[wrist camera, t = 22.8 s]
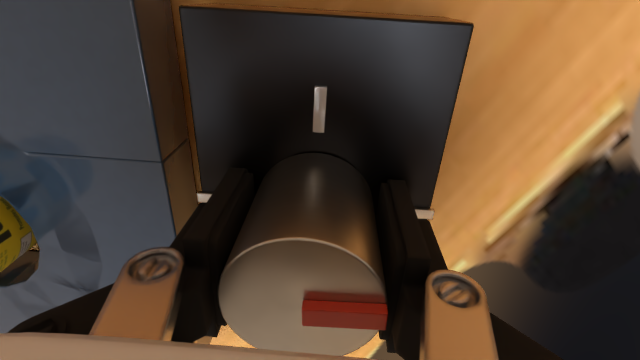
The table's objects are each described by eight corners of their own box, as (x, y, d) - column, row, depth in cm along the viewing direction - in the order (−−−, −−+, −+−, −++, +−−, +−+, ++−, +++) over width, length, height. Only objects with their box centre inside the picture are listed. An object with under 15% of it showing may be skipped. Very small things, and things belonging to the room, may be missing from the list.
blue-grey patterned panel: (-291, -60, 12) (-434, -73, 10) (166, -34, 12) (124, -40, 9) (-52, 307, 20) (-100, 345, 18) (215, 330, 20) (199, 371, 18)
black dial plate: (211, 2, 12) (171, 4, 9) (448, 17, 12) (481, 23, 9) (233, 266, 18) (213, 316, 15) (394, 279, 17) (404, 332, 15)
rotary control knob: (261, 247, 13) (223, 368, 9) (253, 150, 11) (199, 244, 7) (368, 252, 13) (381, 377, 9) (377, 153, 11) (399, 252, 7)
